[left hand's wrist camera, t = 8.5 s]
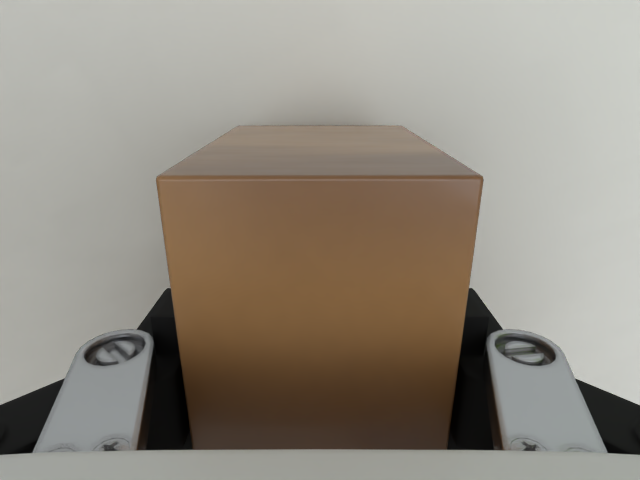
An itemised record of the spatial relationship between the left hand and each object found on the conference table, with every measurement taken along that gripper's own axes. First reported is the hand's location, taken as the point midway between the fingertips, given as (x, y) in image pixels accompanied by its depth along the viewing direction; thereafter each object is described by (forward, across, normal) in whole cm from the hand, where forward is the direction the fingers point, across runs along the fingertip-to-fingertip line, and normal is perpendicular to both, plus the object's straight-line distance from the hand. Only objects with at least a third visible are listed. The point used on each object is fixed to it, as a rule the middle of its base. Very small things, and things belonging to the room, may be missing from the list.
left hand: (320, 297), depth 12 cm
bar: (+2, 0, -23) cm, 23 cm away
